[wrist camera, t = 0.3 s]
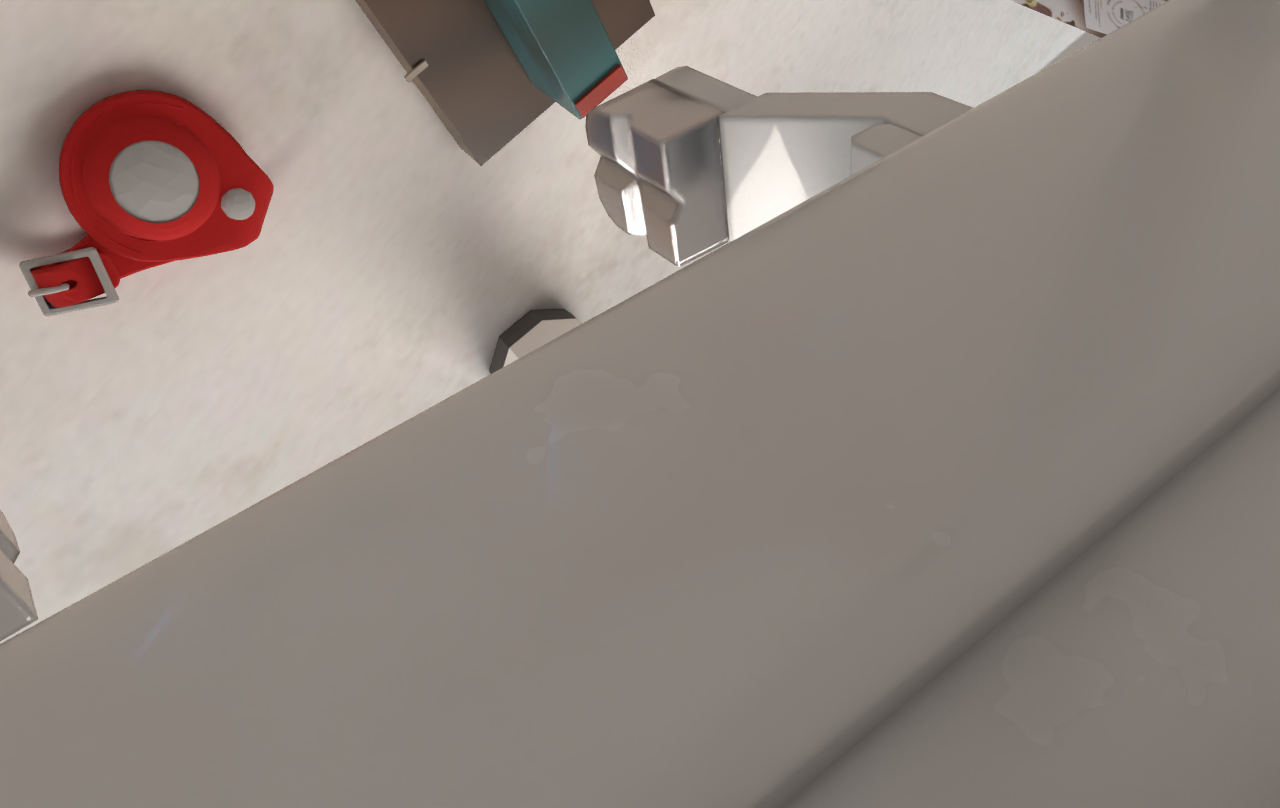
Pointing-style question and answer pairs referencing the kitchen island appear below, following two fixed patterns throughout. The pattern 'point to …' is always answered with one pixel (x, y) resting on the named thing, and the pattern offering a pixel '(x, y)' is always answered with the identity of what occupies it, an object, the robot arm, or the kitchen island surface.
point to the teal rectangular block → (562, 49)
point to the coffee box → (1093, 12)
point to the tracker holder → (146, 196)
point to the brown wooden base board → (477, 63)
